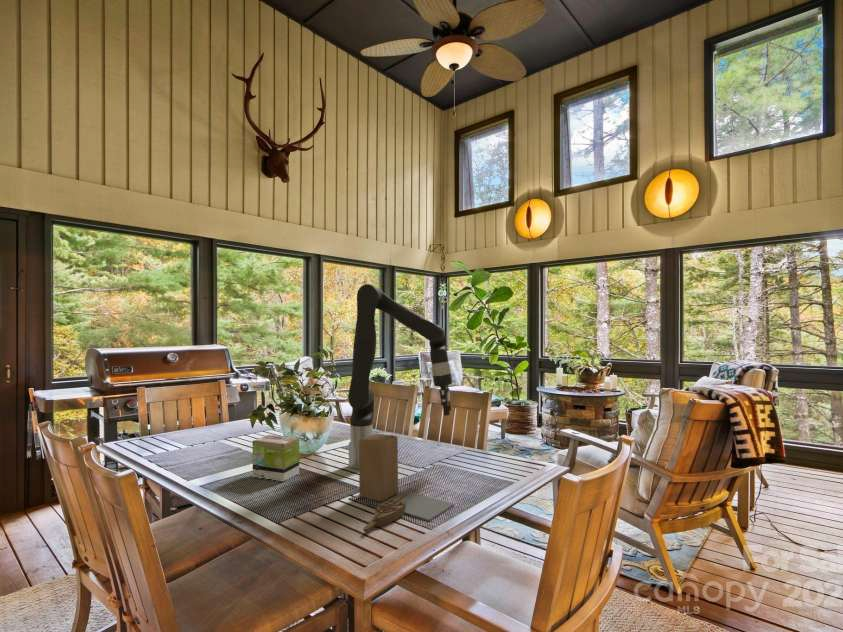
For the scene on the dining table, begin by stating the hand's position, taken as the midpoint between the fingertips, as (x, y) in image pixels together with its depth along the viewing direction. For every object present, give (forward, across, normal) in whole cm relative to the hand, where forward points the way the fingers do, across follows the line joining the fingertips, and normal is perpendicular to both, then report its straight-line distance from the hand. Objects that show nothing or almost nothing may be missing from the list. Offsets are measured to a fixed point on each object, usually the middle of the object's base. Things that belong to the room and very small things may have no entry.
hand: (447, 413), depth 183 cm
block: (+19, +31, -25) cm, 44 cm away
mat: (+21, +38, -11) cm, 45 cm away
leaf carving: (+20, +49, -19) cm, 56 cm away
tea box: (+13, +16, -69) cm, 72 cm away
